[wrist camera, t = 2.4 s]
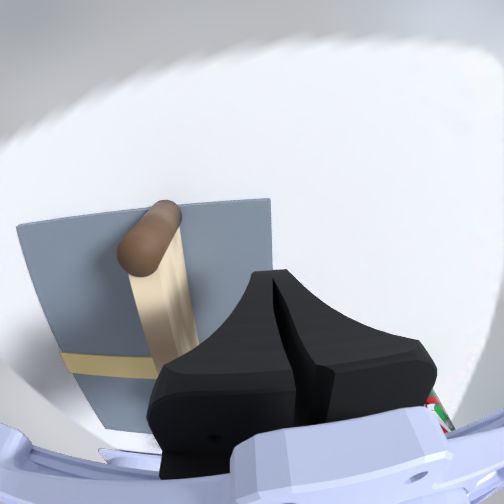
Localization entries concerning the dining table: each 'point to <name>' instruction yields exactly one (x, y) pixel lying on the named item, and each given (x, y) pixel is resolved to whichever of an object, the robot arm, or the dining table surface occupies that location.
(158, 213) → the panel
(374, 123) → the dining table surface
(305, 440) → the robot arm
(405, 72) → the dining table surface
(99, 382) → the card
